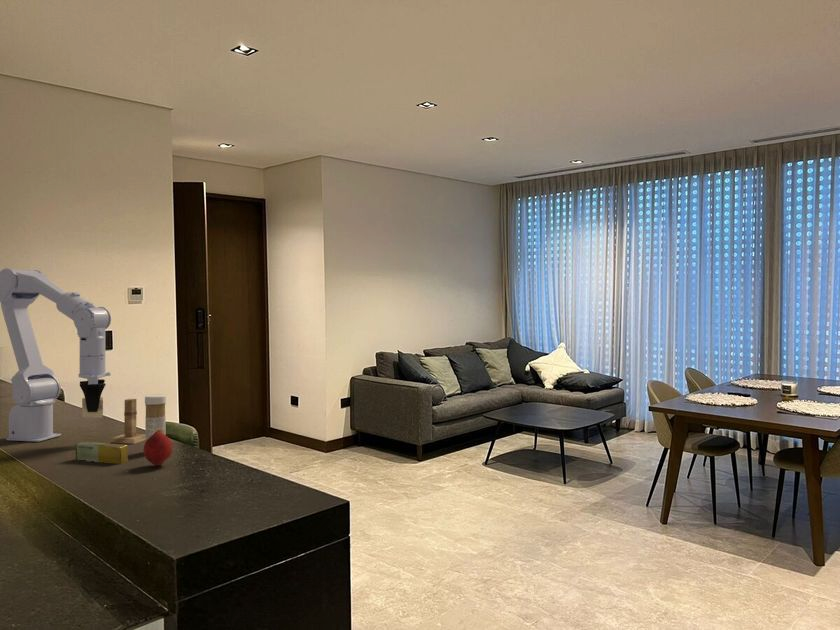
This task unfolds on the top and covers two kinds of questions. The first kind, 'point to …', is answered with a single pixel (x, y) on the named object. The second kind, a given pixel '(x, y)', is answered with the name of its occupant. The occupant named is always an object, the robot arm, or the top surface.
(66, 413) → the top surface
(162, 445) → the onion
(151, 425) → the sprinkles bottle
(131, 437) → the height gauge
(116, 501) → the top surface
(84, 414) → the cube
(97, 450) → the medication box
